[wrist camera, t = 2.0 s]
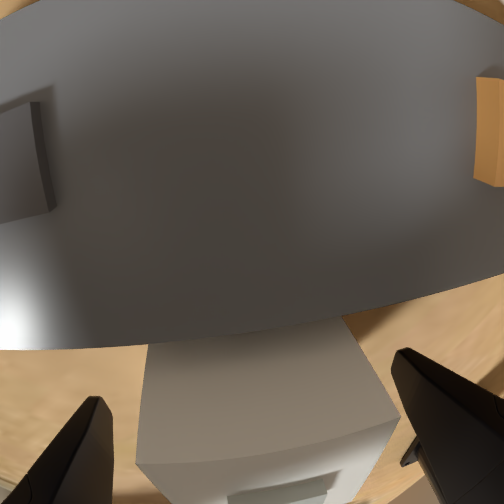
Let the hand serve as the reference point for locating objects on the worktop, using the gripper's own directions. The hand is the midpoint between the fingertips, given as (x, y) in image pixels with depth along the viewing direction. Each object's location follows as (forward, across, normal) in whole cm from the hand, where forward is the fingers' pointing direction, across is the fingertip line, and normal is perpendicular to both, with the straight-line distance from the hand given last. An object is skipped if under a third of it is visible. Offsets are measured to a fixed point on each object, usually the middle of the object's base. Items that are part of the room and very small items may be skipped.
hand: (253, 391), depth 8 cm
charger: (+2, 0, -2) cm, 3 cm away
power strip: (+2, 0, -6) cm, 7 cm away
